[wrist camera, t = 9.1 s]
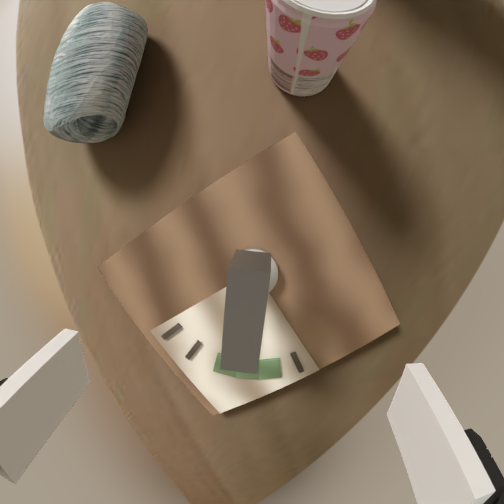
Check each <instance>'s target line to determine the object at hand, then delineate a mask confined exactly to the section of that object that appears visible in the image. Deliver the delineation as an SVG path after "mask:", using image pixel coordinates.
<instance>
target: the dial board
mask: <svg viewBox="0 0 504 504" xmlns="http://www.w3.org/2000/svg"><path fill="white" fill-rule="evenodd" d="M249 248H259V249H263V250H265V251H267V252H268V253H271V255H272V256H273V258H274V259H275V261H276V263H277V267H278V280H277V283H276V285H275V287H274V288H273V289H272V290H271V291H270V292H269V293H268V299H267V306H266V314H265V321H264V328H263V336H262V343H261V350H260V357H259V364H258V371H257V374H251V373H243V372H235V371H228V370H221V369H220V364H221V350H222V336H223V322H224V310H225V297H226V285H227V273H228V266H229V264H230V262H231V260H232V258H233V256H234V254H235V252H236V250H237V249H239V250H245V249H249ZM97 269H98V270H99V272H100V273H101V275H102V276H103V278H104V279H105V281H106V282H107V284H108V285H109V287H110V288H111V290H112V291H113V293H114V294H115V296H116V297H117V299H118V300H119V301H120V303H121V304H122V306H123V307H124V309H125V310H126V311H127V313H128V314H129V315H130V317H131V318H132V320H133V321H134V322H135V324H136V325H137V326H138V328H139V329H140V330H141V332H142V333H143V334H144V336H145V337H146V338H147V339H148V341H149V342H150V343H151V345H152V346H153V347H154V348H155V350H156V351H157V352H158V353H159V355H160V356H161V357H162V358H163V359H164V361H165V362H166V363H167V364H168V366H169V367H170V368H171V369H172V370H173V372H174V373H175V374H176V375H177V376H178V377H179V379H180V380H181V381H182V382H183V383H184V384H185V385H186V387H187V388H188V389H189V390H190V391H191V392H192V393H193V394H194V396H195V397H196V398H197V399H198V400H199V401H200V402H201V403H202V404H203V405H204V407H205V408H206V409H207V410H208V411H209V412H210V413H211V414H212V415H215V414H218V413H222V412H225V411H228V410H230V409H233V408H235V407H238V406H240V405H243V404H245V403H248V402H250V401H253V400H255V399H258V398H260V397H262V396H265V395H267V394H269V393H272V392H274V391H276V390H278V389H281V388H283V387H285V386H287V385H289V384H292V383H294V382H296V381H298V380H300V379H302V378H304V377H306V376H308V375H310V374H312V373H314V372H316V371H318V370H320V369H321V368H323V367H325V366H327V365H329V364H331V363H333V362H335V361H337V360H339V359H340V358H342V357H344V356H346V355H348V354H350V353H352V352H353V351H355V350H357V349H359V348H361V347H362V346H364V345H366V344H368V343H369V342H371V341H373V340H374V339H376V338H378V337H380V336H381V335H383V334H385V333H386V332H388V331H390V330H391V329H393V328H394V327H396V326H398V325H399V324H400V323H399V321H398V318H397V316H396V314H395V312H394V310H393V307H392V305H391V303H390V301H389V299H388V297H387V294H386V292H385V290H384V288H383V286H382V284H381V282H380V280H379V278H378V276H377V274H376V272H375V270H374V268H373V266H372V264H371V262H370V260H369V258H368V256H367V254H366V252H365V250H364V248H363V246H362V244H361V242H360V240H359V238H358V237H357V235H356V233H355V231H354V229H353V227H352V225H351V224H350V222H349V220H348V218H347V216H346V214H345V213H344V211H343V209H342V207H341V206H340V204H339V202H338V200H337V199H336V197H335V195H334V193H333V192H332V190H331V188H330V187H329V185H328V183H327V181H326V180H325V178H324V176H323V175H322V173H321V171H320V170H319V168H318V167H317V165H316V163H315V162H314V160H313V158H312V157H311V155H310V154H309V152H308V150H307V149H306V147H305V146H304V144H303V143H302V141H301V139H300V138H299V136H298V135H297V133H296V132H294V133H293V134H291V135H289V136H288V137H286V138H284V139H282V140H281V141H279V142H277V143H276V144H274V145H272V146H271V147H269V148H268V149H266V150H264V151H263V152H261V153H259V154H258V155H256V156H255V157H253V158H251V159H250V160H248V161H247V162H245V163H243V164H242V165H240V166H239V167H237V168H236V169H234V170H232V171H231V172H229V173H228V174H226V175H225V176H223V177H222V178H220V179H219V180H217V181H216V182H214V183H213V184H211V185H210V186H208V187H207V188H205V189H204V190H202V191H201V192H199V193H198V194H196V195H195V196H193V197H192V198H190V199H189V200H188V201H186V202H185V203H183V204H182V205H180V206H179V207H178V208H176V209H175V210H173V211H172V212H170V213H169V214H168V215H166V216H165V217H163V218H162V219H161V220H159V221H158V222H156V223H155V224H154V225H152V226H151V227H150V228H148V229H147V230H146V231H144V232H143V233H142V234H140V235H139V236H137V237H136V238H135V239H133V240H132V241H131V242H130V243H128V244H127V245H126V246H124V247H123V248H122V249H120V250H119V251H118V252H116V253H115V254H114V255H113V256H111V257H110V258H109V259H107V260H106V261H105V262H104V263H102V264H101V265H100V266H99V267H97Z"/></svg>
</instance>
